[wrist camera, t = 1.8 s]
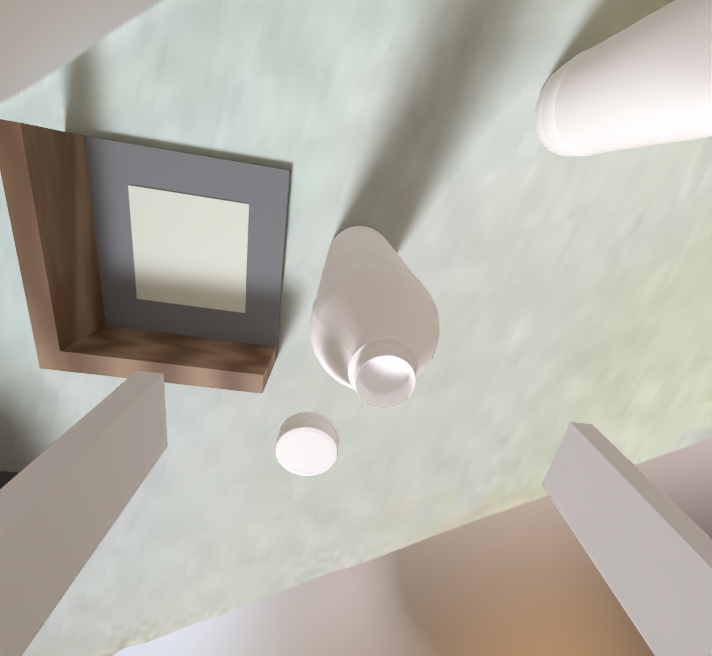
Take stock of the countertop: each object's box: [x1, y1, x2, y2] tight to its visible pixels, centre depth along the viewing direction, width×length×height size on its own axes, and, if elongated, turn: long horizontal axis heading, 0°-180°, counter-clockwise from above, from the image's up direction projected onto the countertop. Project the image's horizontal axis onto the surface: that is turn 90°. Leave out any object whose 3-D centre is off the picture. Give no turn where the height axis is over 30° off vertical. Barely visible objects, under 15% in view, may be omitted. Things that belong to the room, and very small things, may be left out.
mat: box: [84, 136, 290, 346], centre depth 35 cm, size 18×18×1 cm
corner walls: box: [0, 120, 277, 393], centre depth 32 cm, size 20×20×7 cm
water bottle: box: [275, 226, 439, 476], centre depth 24 cm, size 9×6×25 cm
